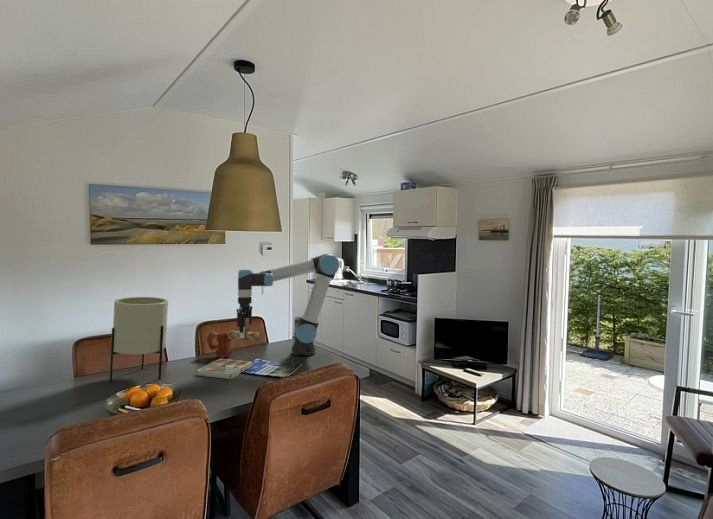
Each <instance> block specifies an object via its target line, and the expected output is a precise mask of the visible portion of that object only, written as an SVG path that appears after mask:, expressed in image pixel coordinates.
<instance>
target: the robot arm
mask: <svg viewBox="0 0 713 519" xmlns="http://www.w3.org/2000/svg"><path fill="white" fill-rule="evenodd" d="M339 269H340V260H339V258H337V256H335V255H334V254H331V253H323V254H321V255H318V256H315V257H312V258H311V259H310V260H306V261H302V262H301V261H300V262H298V263H294V264H289V265H284V266H281V267H277V268H272V269H269V270H265V271H264V270H262V271H260V272H257V273H256V272H253V271H252V269H239V270H238V276H237V290H238V291H237V296H238V297H237V303H238V304H239V308H237V309H236V320H237V321H236V326H237V327H240V338H245V327H244V321H245V318H249V326H251V325H252V321H253V320H252V316H253V315H252V314H253V311H252V310H253V306H251V305H250V304H252V299H253V298H252V287H272V286H273V285H274V283H275V282H278V281H281V280H286V279H291V278H294V277H299V276H303V275H307V274H310V273H311V274H312V273H313V274H315V276H316V277H315V281H314V283H313V286H312V289H311V292H310V295H309V298H308V301H307V304H306V307H305V310H304V313H303V315H301V316H296V317H294V322H293V323H294V334H293V336H294V338H293V339H294V340H293V344H292V347H291V350H290V353H292V354H295V355H294V356H296V355H310V356H312V355H311V354H314V353H315V352H316V350H317V349H316V346H315V343H314V341H315V339H316V338H317V334H318V332H317V330H318V327H319V324H320V321H319V316H320V313H321V310H322V307H323V304H324V300H326V296H327V292H328V291H329V286H330V283H331V281H333V280H335V277H336V273H337V272H338V270H339ZM292 354H291V355H292ZM315 354H316V353H315ZM315 354H314V355H315Z"/></svg>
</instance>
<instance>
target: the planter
mask: <svg viewBox="0 0 713 519" xmlns="http://www.w3.org/2000/svg"><path fill="white" fill-rule="evenodd" d="M113 304H114V305H113V320H112V321H113V322H112V324H113V325H112V328H111V340H110V341H111V342H110V360H109V378H108V379H109V381H108V382H109V384H110V383H111V382H112V383H113V363H114V355H119V354H121V355H131V356H132V355H136V356H137V355H141V357H142V358H141V370H142V369H143V368H144V369H145V367H144V366H145V355H147V354H153V353H154V354H159V358H158V359H159V360H158V361H159V362H158V376H157V377H158V380H161V379H162V364H163V363H162V362H163V350H164V349H165V348H166V345H167V344H166V343H167V326H168V325H167V324H168V308H169V307H168V306H169V300H168V299H166V298H162V297H155V296H135V297H134V296H133V297H132V296H131V297H122V298H118V299H115V300H114V303H113ZM144 369H143V370H144ZM112 383H111V384H112Z"/></svg>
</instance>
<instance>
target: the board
mask: <svg viewBox="0 0 713 519" xmlns="http://www.w3.org/2000/svg"><path fill="white" fill-rule="evenodd" d="M208 365H213V366H222V367H225V366H227V365H231V366H234V368H240V369H241V372H242V371H243V370H245V369H247V368H249V367H250V366H252V365H253V361H249V360H248V361H247V360H239V359H238V360H237V359H227V358H219V359H217V360H214V361H212V362H210V363H208ZM253 366H254V365H253ZM253 366H252V367H253Z"/></svg>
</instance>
